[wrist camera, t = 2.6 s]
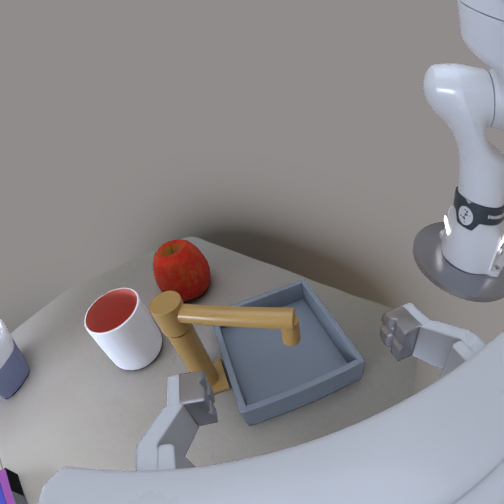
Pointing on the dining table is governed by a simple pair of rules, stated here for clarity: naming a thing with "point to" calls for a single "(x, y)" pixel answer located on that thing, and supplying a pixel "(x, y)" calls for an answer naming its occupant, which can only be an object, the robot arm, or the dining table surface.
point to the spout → (221, 317)
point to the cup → (124, 329)
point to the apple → (181, 269)
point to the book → (10, 488)
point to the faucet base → (200, 359)
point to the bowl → (10, 364)
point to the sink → (287, 356)
